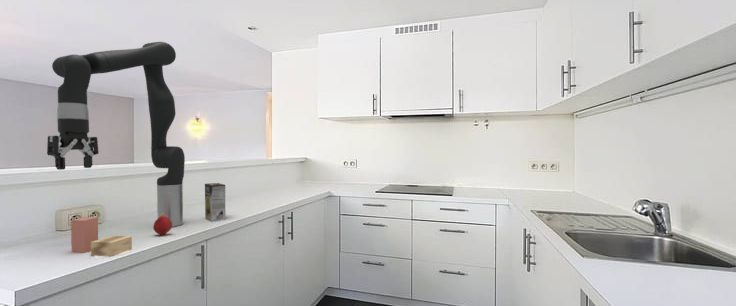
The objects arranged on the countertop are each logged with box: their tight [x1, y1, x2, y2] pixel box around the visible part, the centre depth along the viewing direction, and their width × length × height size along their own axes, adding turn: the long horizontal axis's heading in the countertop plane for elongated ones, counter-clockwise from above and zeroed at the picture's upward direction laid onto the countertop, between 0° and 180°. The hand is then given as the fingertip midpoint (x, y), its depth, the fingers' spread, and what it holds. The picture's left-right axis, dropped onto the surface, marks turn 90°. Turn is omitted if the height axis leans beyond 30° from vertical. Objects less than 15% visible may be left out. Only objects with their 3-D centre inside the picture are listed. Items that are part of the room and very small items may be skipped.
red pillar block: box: [70, 216, 99, 254], centre depth 103 cm, size 4×4×10 cm
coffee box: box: [204, 182, 226, 222], centre depth 150 cm, size 9×6×16 cm
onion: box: [153, 214, 173, 236], centre depth 122 cm, size 6×6×8 cm
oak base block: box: [90, 235, 133, 257], centre depth 101 cm, size 7×7×4 cm
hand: (75, 168), depth 106 cm, fingers open, 8 cm apart
